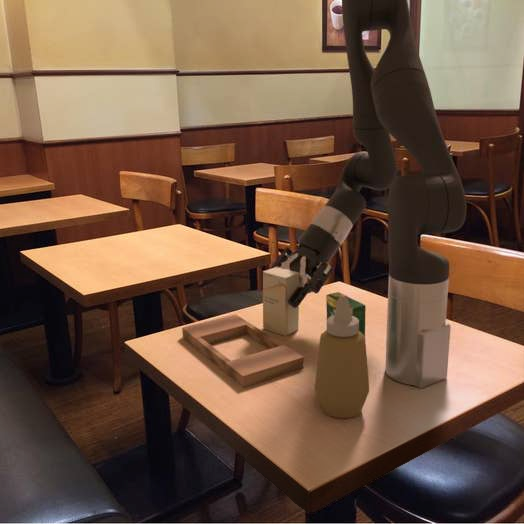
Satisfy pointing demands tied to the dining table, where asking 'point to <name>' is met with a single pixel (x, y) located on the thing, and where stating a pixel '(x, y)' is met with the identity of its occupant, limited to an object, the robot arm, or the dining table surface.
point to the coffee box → (355, 308)
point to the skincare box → (280, 300)
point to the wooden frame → (250, 366)
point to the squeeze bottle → (342, 364)
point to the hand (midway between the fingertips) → (279, 299)
